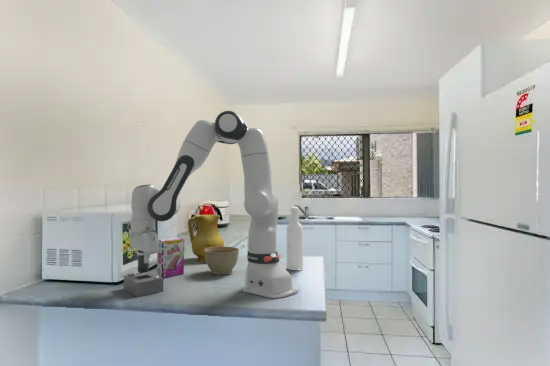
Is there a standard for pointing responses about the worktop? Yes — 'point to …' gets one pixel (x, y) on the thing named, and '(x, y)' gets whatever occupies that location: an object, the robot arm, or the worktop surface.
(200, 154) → the robot arm
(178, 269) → the candy bar box
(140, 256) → the lens
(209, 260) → the planter bowl
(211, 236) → the pitcher
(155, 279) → the block
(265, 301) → the worktop surface
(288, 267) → the bottle
